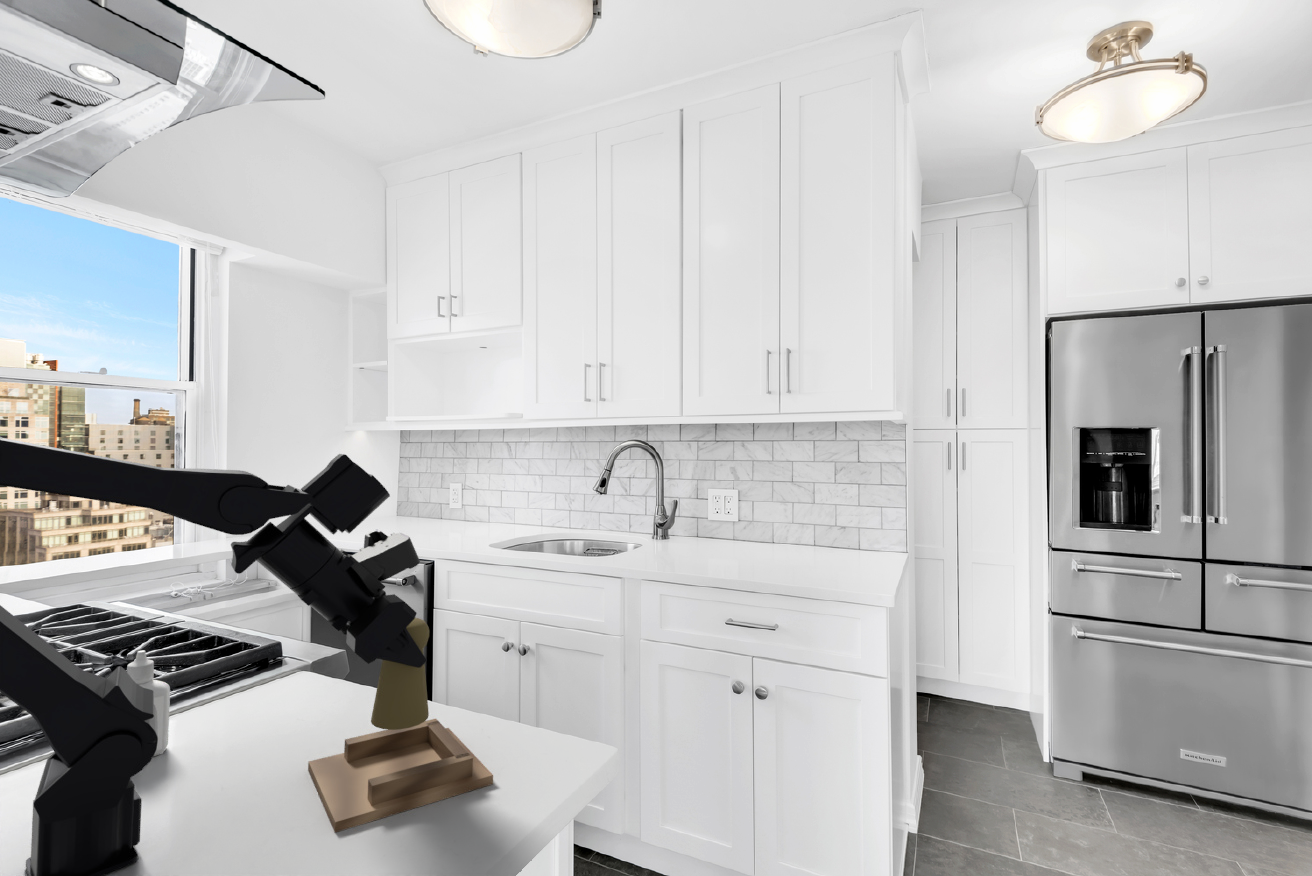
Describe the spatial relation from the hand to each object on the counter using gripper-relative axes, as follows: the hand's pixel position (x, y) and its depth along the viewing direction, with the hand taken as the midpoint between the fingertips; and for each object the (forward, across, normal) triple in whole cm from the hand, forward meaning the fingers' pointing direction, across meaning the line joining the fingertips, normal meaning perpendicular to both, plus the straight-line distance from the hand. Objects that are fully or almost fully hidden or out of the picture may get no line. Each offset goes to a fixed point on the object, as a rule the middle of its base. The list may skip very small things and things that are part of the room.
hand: (415, 657), depth 74 cm
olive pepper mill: (+4, 0, +6) cm, 7 cm away
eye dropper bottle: (-8, +21, +27) cm, 35 cm away
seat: (+8, 0, +10) cm, 13 cm away
